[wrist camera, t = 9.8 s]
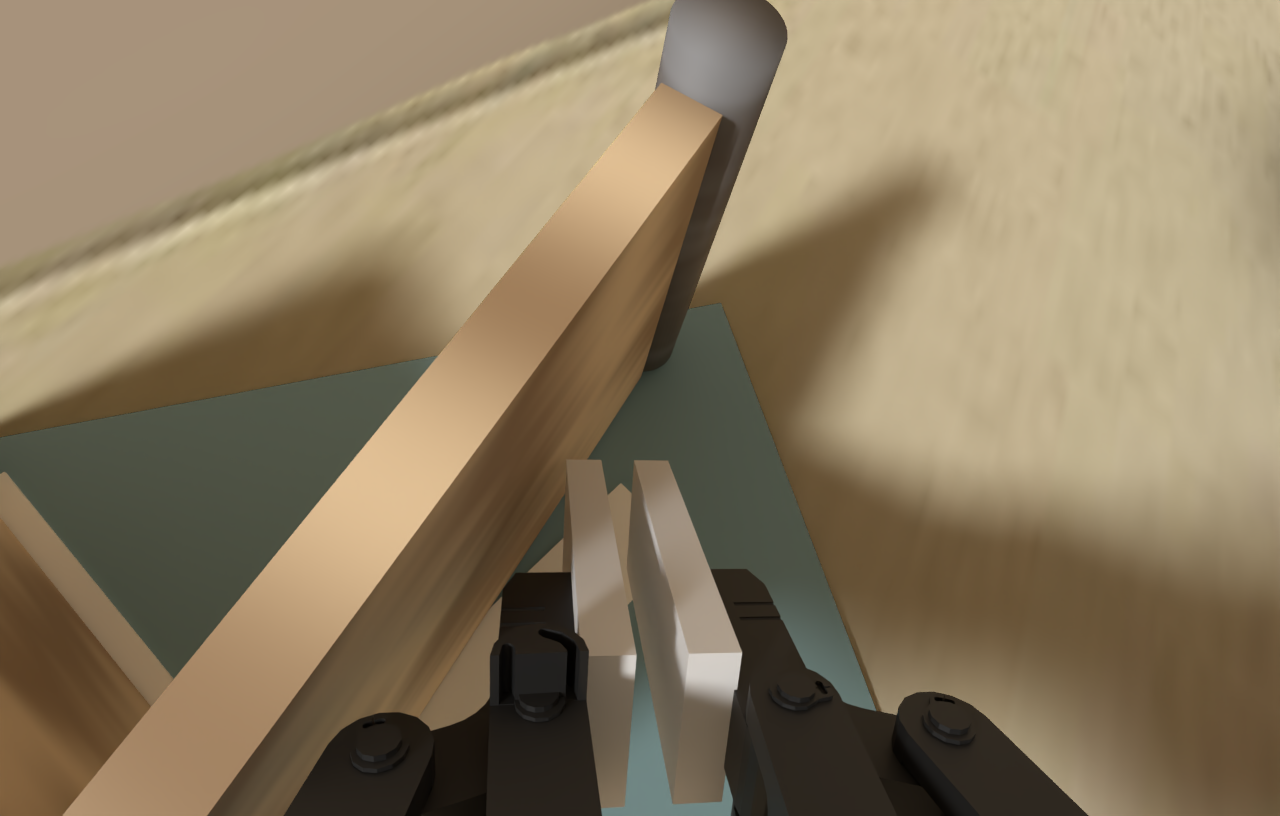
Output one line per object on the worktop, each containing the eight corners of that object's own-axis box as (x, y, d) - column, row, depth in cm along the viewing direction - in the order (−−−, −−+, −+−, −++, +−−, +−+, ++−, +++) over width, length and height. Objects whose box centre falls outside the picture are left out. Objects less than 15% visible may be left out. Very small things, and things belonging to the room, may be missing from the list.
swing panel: (364, 833, 16) (119, 970, 6) (289, 783, 16) (-60, 842, 7) (685, 333, 22) (806, 19, 13) (628, 301, 23) (704, -33, 13)
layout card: (719, 305, 24) (721, 301, 23) (1010, 1071, 16) (1017, 1076, 16) (-206, 478, 18) (-217, 475, 18) (-378, 1764, 11) (-398, 1786, 11)
